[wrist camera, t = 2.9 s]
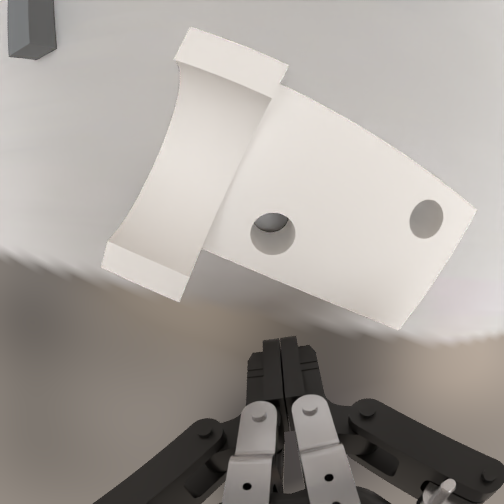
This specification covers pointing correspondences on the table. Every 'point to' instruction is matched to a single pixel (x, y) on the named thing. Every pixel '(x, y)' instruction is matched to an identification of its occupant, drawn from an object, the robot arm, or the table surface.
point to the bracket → (284, 193)
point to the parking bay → (31, 28)
